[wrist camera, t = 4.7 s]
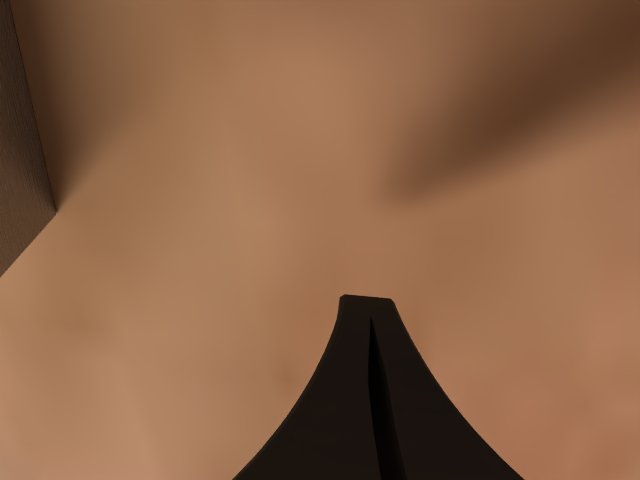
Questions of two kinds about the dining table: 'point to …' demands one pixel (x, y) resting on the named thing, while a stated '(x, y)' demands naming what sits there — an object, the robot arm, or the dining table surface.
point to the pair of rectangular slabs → (19, 154)
